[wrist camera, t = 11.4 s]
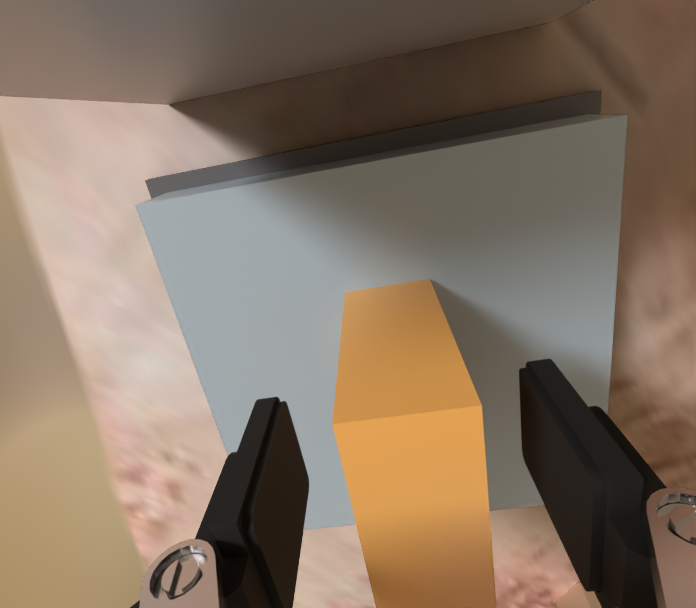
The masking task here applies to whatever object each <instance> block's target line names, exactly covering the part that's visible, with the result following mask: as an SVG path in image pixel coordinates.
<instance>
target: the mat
mask: <svg viewBox="0 0 696 608" xmlns="http://www.w3.org/2000/svg"><path fill="white" fill-rule="evenodd" d="M600 105H601V90H600V91H592V92H587V93H582V94H577V95H572V96H567V97H562V98H557V99H551V100H546V101H541V102H536V103H531V104H526V105H521V106H516V107H511V108H506V109H501V110H496V111H491V112H486V113H481V114H476V115H471V116H466V117H460V118H455V119H450V120H445V121H440V122H435V123H430V124H425V125H420V126H415V127H410V128H405V129H400V130H395V131H390V132H385V133H380V134H374V135H369V136H364V137H359V138H354V139H349V140H344V141H339V142H334V143H329V144H324V145H319V146H314V147H309V148H304V149H299V150H294V151H289V152H283V153H278V154H273V155H268V156H263V157H258V158H253V159H248V160H243V161H238V162H233V163H228V164H223V165H218V166H213V167H208V168H203V169H197V170H192V171H187V172H182V173H177V174H172V175H167V176H162V177H157V178H152V179H148V180H145V181H146V184H147V187H148V190H149V193H150V195H151V198H155V197H157V196H160V195H162V194H165V193H167V192H172V191H178V190H183V189H188V188H194V187H199V186H205V185H210V184H215V183H221V182H226V181H231V180H237V179H242V178H247V177H253V176H258V175H264V174H269V173H274V172H280V171H285V170H290V169H296V168H301V167H306V166H312V165H317V164H323V163H328V162H333V161H339V160H344V159H349V158H355V157H360V156H365V155H371V154H376V153H382V152H387V151H392V150H398V149H403V148H408V147H414V146H419V145H425V144H430V143H435V142H441V141H446V140H451V139H457V138H462V137H467V136H473V135H478V134H484V133H489V132H494V131H500V130H505V129H510V128H516V127H521V126H526V125H532V124H537V123H543V122H548V121H553V120H559V119H564V118H569V117H575V116H580V115H585V114H600Z"/></svg>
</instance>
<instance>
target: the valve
mask: <svg viewBox="0 0 696 608" xmlns="http://www.w3.org/2000/svg"><path fill="white" fill-rule="evenodd" d="M556 607H557V608H602V607H601V605H600V603H599V601H598V599H597V597H596V595H595V593H594V591H591V592H587V591H586V590H585V589H584V588H583V586H582V584H581V582H579V583H576V584H575V585H574V586H573V587H572V588H571V589H570V590H569V591H568V592H567V593H566V594H565V595H564V596H563V597H562V598H560V599H559V600H558V601H557V603H556Z"/></svg>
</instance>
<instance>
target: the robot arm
mask: <svg viewBox="0 0 696 608" xmlns="http://www.w3.org/2000/svg"><path fill="white" fill-rule="evenodd" d="M519 387H520V414H521V440H522V454H523V458H524V461H525V464H526V466H527V468H528V471H529V473H530V475H531V477H532V479H533V481H534V483H535V486H536V488H537V490H538V492H539V494H540V496H541V498H542V501H543V503H544V505H545V507H546V509H547V511H548V513H549V516H550V518H551V520H552V522H553V524H554V526H555V528H556V530H557V533H558V535H559V537H560V539H561V541H562V543H563V545H564V548H565V550H566V552H567V554H568V556H569V558H570V560H571V563H572V565H573V567H574V569H575V571H576V573H577V575H578V578H579V580H580V582H581V584H582V586H583V588H584V589H585V590H586V591H587V592H591V591H594V593H595V595H596V597H597V599H598V601H599V603H600V605H601V607H602V608H696V490H693V489H688V488H679V487H670V488H667V487H666V486H665V485H664V484H663V483H662V481H661V480H660V479H659V478H658V476H657V475H656V474H655V473H654V472H653V470H652V469H651V468H650V467H649V465H648V464H647V463H646V462H645V461H644V459H643V458H642V457H641V456H640V454H639V453H638V452H637V451H636V450H635V448H634V447H633V446H632V445H631V443H630V442H629V441H628V440H627V439H626V437H625V436H624V435H623V434H622V432H621V431H620V430H619V429H618V427H617V426H616V425H615V424H614V423H613V421H612V420H611V419H610V418H609V416H608V415H607V414H606V413H605V412H604V411H603V410H602V409H601V408H600V407H598V406H589V407H588V406H587V404H586V403H585V402H584V400H583V399H582V398H581V397H580V395H579V394H578V393H577V391H576V390H575V389H574V388H573V386H572V385H571V384H570V382H569V381H568V380H567V379H566V377H565V376H564V375H563V373H562V372H561V371H560V369H559V368H558V367H557V366H556V364H555V363H554V362H553V361H552V360H551V359H542V360H535V361H528V362H527V363H526V368H520V369H519ZM308 494H309V477H308V473H307V470H306V466H305V463H304V459H303V456H302V452H301V449H300V446H299V442H298V439H297V435H296V432H295V428H294V425H293V421H292V418H291V415H290V411H289V408H288V405H287V402H286V401H281V402H280V399H279V398H278V397H271V398H264V399H258V400H256V402H255V404H254V407H253V410H252V412H251V415H250V418H249V420H248V423H247V426H246V428H245V431H244V434H243V437H242V439H241V442H240V445H239V447H238V450H237V452H232V453H230V454H229V455H228V457H227V459H226V461H225V464H224V467H223V469H222V472H221V474H220V477H219V479H218V482H217V484H216V487H215V489H214V492H213V495H212V497H211V500H210V502H209V505H208V507H207V510H206V512H205V515H204V517H203V520H202V522H201V525H200V528H199V530H198V533H197V535H196V538H195V539H190V540H186V541H183V542H179V543H178V544H176V545H174V546H172V547H170V548H168V549H167V550H166V551H165V552H163V553H162V554H161V555H160V556H158V558H157V559H156V560H155V561H154V562H153V563H152V565H151V566H150V567H149V569H148V571H147V573H146V574H145V576H144V579H143V583H142V587H141V595H140V600H139V601H138V602H137V603H136V604H134V605H133V606H132V607H130V608H292V607H293V600H294V593H295V586H296V579H297V572H298V565H299V558H300V551H301V543H302V536H303V529H304V522H305V515H306V508H307V501H308Z"/></svg>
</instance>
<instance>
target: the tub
mask: <svg viewBox="0 0 696 608" xmlns="http://www.w3.org/2000/svg"><path fill="white" fill-rule="evenodd" d="M591 1H593V0H0V96H11V97H30V98H50V99H69V100H88V101H108V102H127V103H146V104H166V105H167V104H172V103H177V102H181V101H186V100H191V99H195V98H200V97H204V96H209V95H214V94H218V93H223V92H228V91H232V90H237V89H242V88H246V87H251V86H256V85H260V84H265V83H270V82H274V81H279V80H284V79H288V78H293V77H297V76H302V75H307V74H311V73H316V72H321V71H325V70H330V69H335V68H339V67H344V66H349V65H353V64H358V63H363V62H367V61H372V60H377V59H381V58H386V57H391V56H395V55H400V54H404V53H409V52H414V51H418V50H423V49H428V48H432V47H437V46H442V45H446V44H451V43H456V42H460V41H465V40H470V39H474V38H479V37H484V36H488V35H493V34H498V33H502V32H507V31H511V30H516V29H521V28H525V27H530V26H535V25H539V24H544V23H549V22H551V21H553V20H555V19H557V18H559V17H561V16H563V15H565V14H567V13H569V12H571V11H573V10H575V9H577V8H579V7H581V6H583V5H585V4H587V3H589V2H591Z"/></svg>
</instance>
